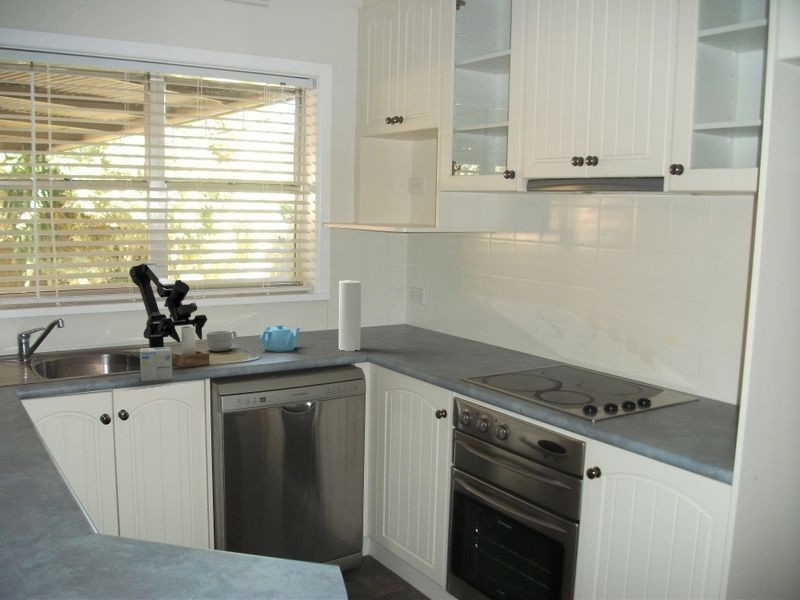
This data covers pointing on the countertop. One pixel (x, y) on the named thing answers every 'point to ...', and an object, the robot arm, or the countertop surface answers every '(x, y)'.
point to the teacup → (220, 340)
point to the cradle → (190, 359)
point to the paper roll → (188, 340)
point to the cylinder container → (349, 315)
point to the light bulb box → (156, 364)
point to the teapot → (279, 338)
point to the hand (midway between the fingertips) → (190, 340)
